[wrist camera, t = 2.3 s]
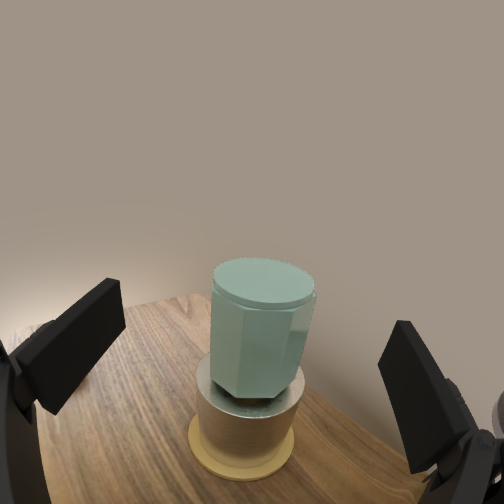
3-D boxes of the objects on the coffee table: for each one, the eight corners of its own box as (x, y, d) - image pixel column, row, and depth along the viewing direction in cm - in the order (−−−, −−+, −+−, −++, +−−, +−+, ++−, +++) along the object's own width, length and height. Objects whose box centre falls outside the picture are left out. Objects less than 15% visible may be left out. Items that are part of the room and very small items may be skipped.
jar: (299, 397, 21) (328, 304, 18) (208, 396, 21) (209, 299, 17) (285, 343, 29) (301, 260, 25) (212, 340, 28) (216, 254, 25)
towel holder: (300, 477, 24) (380, 334, 16) (185, 478, 22) (154, 329, 14) (284, 401, 37) (321, 256, 29) (192, 398, 36) (188, 247, 27)
